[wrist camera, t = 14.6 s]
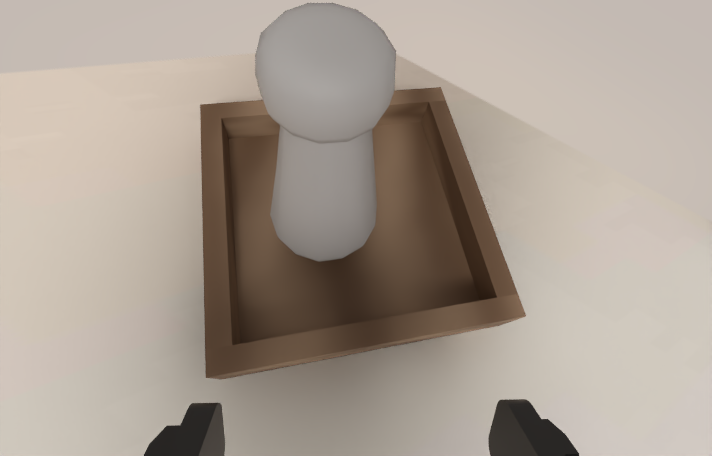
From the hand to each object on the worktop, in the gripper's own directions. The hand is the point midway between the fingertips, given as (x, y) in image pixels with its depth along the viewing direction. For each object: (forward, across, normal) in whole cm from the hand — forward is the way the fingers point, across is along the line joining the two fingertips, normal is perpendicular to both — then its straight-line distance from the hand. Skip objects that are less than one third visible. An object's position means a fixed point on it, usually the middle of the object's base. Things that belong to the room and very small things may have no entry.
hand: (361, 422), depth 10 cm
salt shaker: (+13, +1, -1) cm, 13 cm away
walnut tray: (+14, 0, -1) cm, 14 cm away
